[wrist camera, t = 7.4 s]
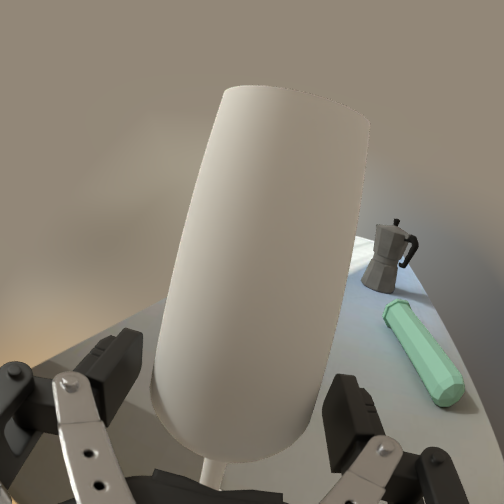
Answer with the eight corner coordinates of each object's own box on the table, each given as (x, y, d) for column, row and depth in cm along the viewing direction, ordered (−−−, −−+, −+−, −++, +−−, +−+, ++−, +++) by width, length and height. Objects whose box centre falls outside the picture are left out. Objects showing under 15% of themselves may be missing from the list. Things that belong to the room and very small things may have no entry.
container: (476, 373, 29) (411, 295, 53) (436, 386, 30) (381, 301, 54) (467, 407, 30) (410, 323, 54) (429, 420, 31) (382, 329, 55)
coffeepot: (349, 276, 82) (367, 209, 77) (373, 277, 86) (391, 215, 81) (387, 301, 68) (410, 225, 64) (411, 300, 72) (433, 231, 67)
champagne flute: (225, 573, 12) (414, 101, 5) (132, 526, 14) (147, 71, 7) (263, 506, 18) (394, 147, 11) (182, 470, 20) (242, 116, 14)
